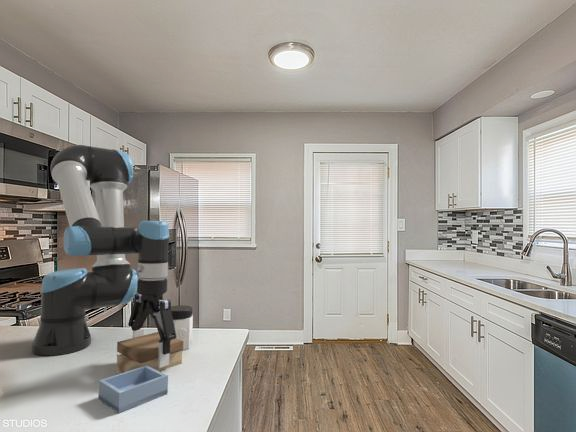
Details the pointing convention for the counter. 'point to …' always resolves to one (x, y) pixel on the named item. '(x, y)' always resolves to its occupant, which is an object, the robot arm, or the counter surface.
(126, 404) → the dish
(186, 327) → the jar
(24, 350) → the counter surface
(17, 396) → the counter surface
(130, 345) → the lid
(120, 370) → the tan wooden block
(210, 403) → the counter surface
